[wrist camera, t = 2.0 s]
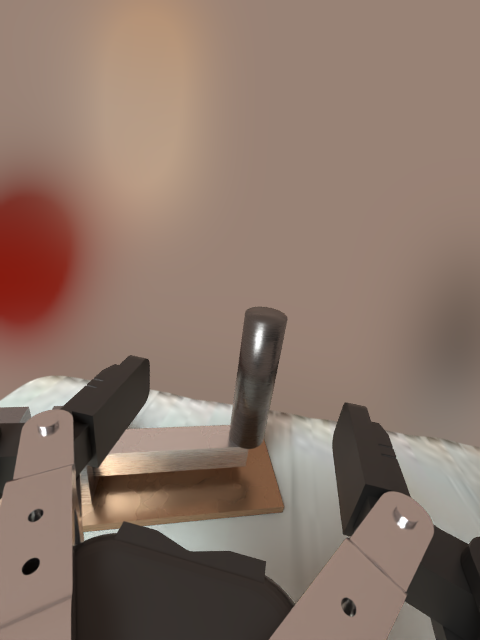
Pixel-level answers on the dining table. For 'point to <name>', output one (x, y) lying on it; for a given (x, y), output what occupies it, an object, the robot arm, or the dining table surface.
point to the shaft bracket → (173, 491)
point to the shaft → (213, 441)
